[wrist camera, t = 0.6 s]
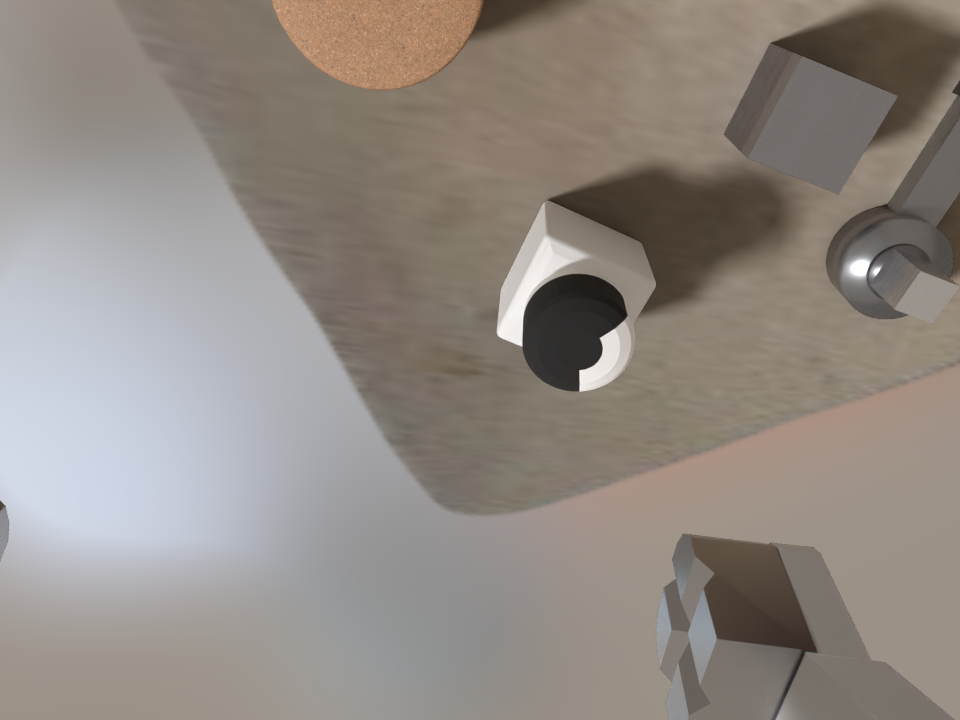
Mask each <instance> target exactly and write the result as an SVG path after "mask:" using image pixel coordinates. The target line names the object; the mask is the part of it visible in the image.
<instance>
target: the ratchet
mask: <svg viewBox="0 0 960 720" xmlns="http://www.w3.org/2000/svg"><path fill="white" fill-rule="evenodd" d="M952 93H954V94H957V95H958V96H957V98H956V99H955V101H954V102H953V104H952V105H951V107H950V108H949V110H948V112H947V113H946V115H945V116H944V118H943V119H942V121H941V122H940V124H939V126H938V127H937V129H936V130H935V132H934V133H933V135H932V136H931V138H930V140H929V141H928V143H927V144H926V146H925V147H924V149H923V150H922V152H921V154H920V155H919V157H918V158H917V160H916V161H915V163H914V164H913V166H912V168H911V169H910V171H909V172H908V174H907V175H906V177H905V178H904V180H903V182H902V183H901V185H900V186H899V188H898V189H897V191H896V192H895V194H894V196H893V197H892V199H891V200H890V202H889V203H888V205H887V206H881V207H876V208H872V209H869V210H866V211H864V212H862V213H860V214H858V215H856V216H855V217H853V218H852V219H850V220H849V221H848V222H847V223H845V224H844V225H843V226H842V227H841V229H840V230H839V231H838V232H837V233H836V235H835V236H834V238H833V240H832V242H831V244H830V246H829V249H828V252H827V258H826V268H827V273H828V276H829V278H830V280H831V282H832V284H833V285H834V286H835V287H836V288H837V290H838V291H839V292H840V293H841V294H842V295H843V296H844V298H845V299H846V300H847V301H848V302H849V303H850V304H851V305H852V306H853V307H854V308H855V309H856V310H857V311H859V312H860V313H862V314H864V315H866V316H869V317H872V318H877V319H895V318H901V317H904V316H908V315H910V316H913V317H915V318H918V319H921V320H923V321H926V322H929V323H931V324H933V322H934V321H935V320H936V318H937V317H938V316H939V314H940V313H941V311H942V310H943V309H944V307H945V306H946V305H947V303H948V302H949V300H950V299H951V298H952V296H953V295H954V294H955V292H956V291H957V290H958V288H959V287H960V286H959V285H958V284H956V283H955V282H954V281H953V280H951V279H950V276H951V273H952V269H953V259H954V257H953V250H952V247H951V244H950V242H949V240H948V239H947V238H946V236H945V235H944V234H943V233H942V232H941V231H940V230H938V229H937V228H936V226H937V225H938V223H939V222H940V221H941V219H942V218H943V216H944V215H945V213H946V212H947V210H948V209H949V207H950V206H951V204H952V203H953V202H954V200H955V199H956V197H957V196H958V194H959V193H960V81H959V83H958V84H957V86H956V87H955V89H954V90H953V92H952Z"/></svg>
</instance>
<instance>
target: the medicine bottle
mask: <svg viewBox="0 0 960 720" xmlns="http://www.w3.org/2000/svg"><path fill="white" fill-rule="evenodd" d="M655 287H656V282H655V279H654V276H653V273H652V270H651V268H650V265H649V262H648V259H647V256H646V254H645V251H644V248H643V245H642V243H641V242H639V241H637V240H635V239H633V238H630V237H628V236H626V235H624V234H622V233H619V232H617V231H615V230H613V229H611V228H608V227H606V226H604V225H602V224H600V223H597V222H595V221H593V220H591V219H589V218H586V217H584V216H582V215H580V214H578V213H575V212H573V211H571V210H569V209H566V208H564V207H562V206H560V205H558V204H555V203H553V202H551V201H545V202H544V203H543V205H542V207H541V209H540V211H539V213H538V215H537V217H536V219H535V221H534V223H533V225H532V227H531V229H530V231H529V233H528V235H527V237H526V239H525V241H524V243H523V245H522V247H521V249H520V251H519V253H518V255H517V257H516V260H515V262H514V264H513V266H512V268H511V270H510V272H509V274H508V276H507V278H506V280H505V282H504V284H503V286H502V288H501V295H500V305H499V315H498V325H497V334H498V336H499V337H500V338H503V339H505V340H507V341H510V342H512V343H514V344H517V345H519V346H522V347H523V353H524V356H525V359H526V362H527V363H528V365H529V367H530V368H531V370H532V371H533V372H534V374H535V375H536V376H537V377H538V378H540V379H541V380H542V381H544V382H545V383H547V384H549V385H551V386H553V387H555V388H558V389H562V390H567V391H588V390H593V389H596V388H599V387H602V386H604V385H606V384H608V383H610V382H611V381H613V380H614V379H615V378H617V377H618V376H619V375H620V374H621V373H622V372H623V371H624V369H625V368H626V367H627V365H628V364H629V362H630V360H631V358H632V355H633V352H634V347H635V334H634V328H633V324H634V322H635V321H636V319H637V317H638V316H639V314H640V312H641V311H642V309H643V307H644V306H645V304H646V302H647V301H648V299H649V297H650V296H651V294H652V292H653V291H654V289H655Z"/></svg>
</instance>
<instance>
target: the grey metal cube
mask: <svg viewBox="0 0 960 720" xmlns="http://www.w3.org/2000/svg"><path fill="white" fill-rule="evenodd" d="M897 97H898V96H897V95H894V94H892V93H889V92H887V91H885V90H882V89H880V88H877V87H875V86H873V85H870V84H868V83H865V82H863V81H861V80H858V79H856V78H853V77H851V76H849V75H846V74H844V73H842V72H839V71H837V70H834V69H832V68H830V67H827V66H825V65H822V64H820V63H818V62H815V61H813V60H810V59H808V58H806V57H803V56H801V55H798V54H796V53H793V52H791V51H789V50H786V49H784V48H781V47H779V46H776V45H774V44H771V43H770V45H769V47H768V49H767V51H766V53H765V55H764V57H763V59H762V61H761V63H760V65H759V67H758V68H757V70H756V72H755V74H754V76H753V78H752V80H751V82H750V84H749V86H748V88H747V90H746V92H745V94H744V96H743V98H742V100H741V102H740V104H739V106H738V108H737V110H736V111H735V113H734V115H733V117H732V119H731V121H730V123H729V125H728V127H727V129H726V131H725V133H724V135H725V136H726V137H727V138H728V139H729V140H730V141H731V142H732V143H733V144H734V145H735V146H736V147H737V148H738V149H739V150H740V151H741V152H742V153H743V154H744V155H745V156H746V157H747V158H748V159H750V160H753V161H755V162H758V163H760V164H763V165H765V166H768V167H770V168H773V169H775V170H778V171H780V172H783V173H785V174H788V175H790V176H793V177H795V178H798V179H800V180H803V181H805V182H808V183H811V184H813V185H816V186H818V187H821V188H823V189H826V190H828V191H831V192H833V193H836V194H839V193H840V191H841V189H842V188H843V186H844V185H845V183H846V181H847V180H848V178H849V176H850V175H851V173H852V171H853V170H854V168H855V166H856V165H857V163H858V161H859V160H860V158H861V156H862V155H863V153H864V152H865V150H866V148H867V147H868V145H869V143H870V142H871V140H872V138H873V137H874V135H875V133H876V132H877V130H878V128H879V127H880V125H881V124H882V122H883V120H884V119H885V117H886V115H887V114H888V112H889V110H890V109H891V107H892V105H893V104H894V102H895V100H896V99H897Z"/></svg>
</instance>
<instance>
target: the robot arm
mask: <svg viewBox="0 0 960 720" xmlns="http://www.w3.org/2000/svg"><path fill="white" fill-rule="evenodd" d="M8 532H9V520H8V515H7V511H6V506H5V505H4V504H3V503H2V502H1V501H0V560H1V558H2V555H3V553H4V550H5V548H6V545H7V543H8V534H9V533H8ZM672 561H673V566H674V570H675V576H676V579H675V580H673V581H672V582H671V583H669V584H668V585H667V586H665V587H664V588H663V592H662V596H661V600H660V604H659V607H658V615H657V626H656V644H657V655H658V661H659V667H660V670H661V671H662V672H663V673H664V674H665V675H666V676H667V678H668V679H669V680H671V682H672V683H671V686H670V690H669V693H668V696H667V699H666V709H667V714H668V720H955V719H953V718H952V717H951V716H950V715H949V714H947V713H946V712H945V711H944V710H943V709H941V708H940V707H939V706H938V705H937V704H935V703H934V702H933V701H932V700H930V699H929V698H928V697H927V696H926V695H924V694H923V693H922V692H921V691H920V690H918V689H917V688H916V687H915V686H914V685H912V684H911V683H910V682H909V681H908V680H906V679H905V678H904V677H903V676H902V675H900V674H899V673H898V672H897V671H896V670H894V669H893V668H892V667H891V666H889V665H888V664H887V663H886V662H879V661H873V660H871V658H870V656H869V654H868V652H867V650H866V648H865V645H864V643H863V641H862V639H861V637H860V635H859V633H858V631H857V629H856V626H855V624H854V622H853V620H852V618H851V616H850V614H849V612H848V610H847V608H846V605H845V603H844V601H843V599H842V597H841V595H840V593H839V591H838V589H837V587H836V585H835V582H834V580H833V578H832V576H831V574H830V572H829V570H828V568H827V566H826V564H825V562H824V559H823V557H822V555H821V553H820V552H818V551H817V550H816V549H815V548H814V547H808V546H798V545H788V544H777V543H769V544H766V543H758V542H750V541H742V540H733V539H724V538H716V537H708V536H699V535H691V534H682V536H681V538H680V539H679V541H678V542H677V545H676V548H675V552H674V555H673V558H672Z"/></svg>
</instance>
